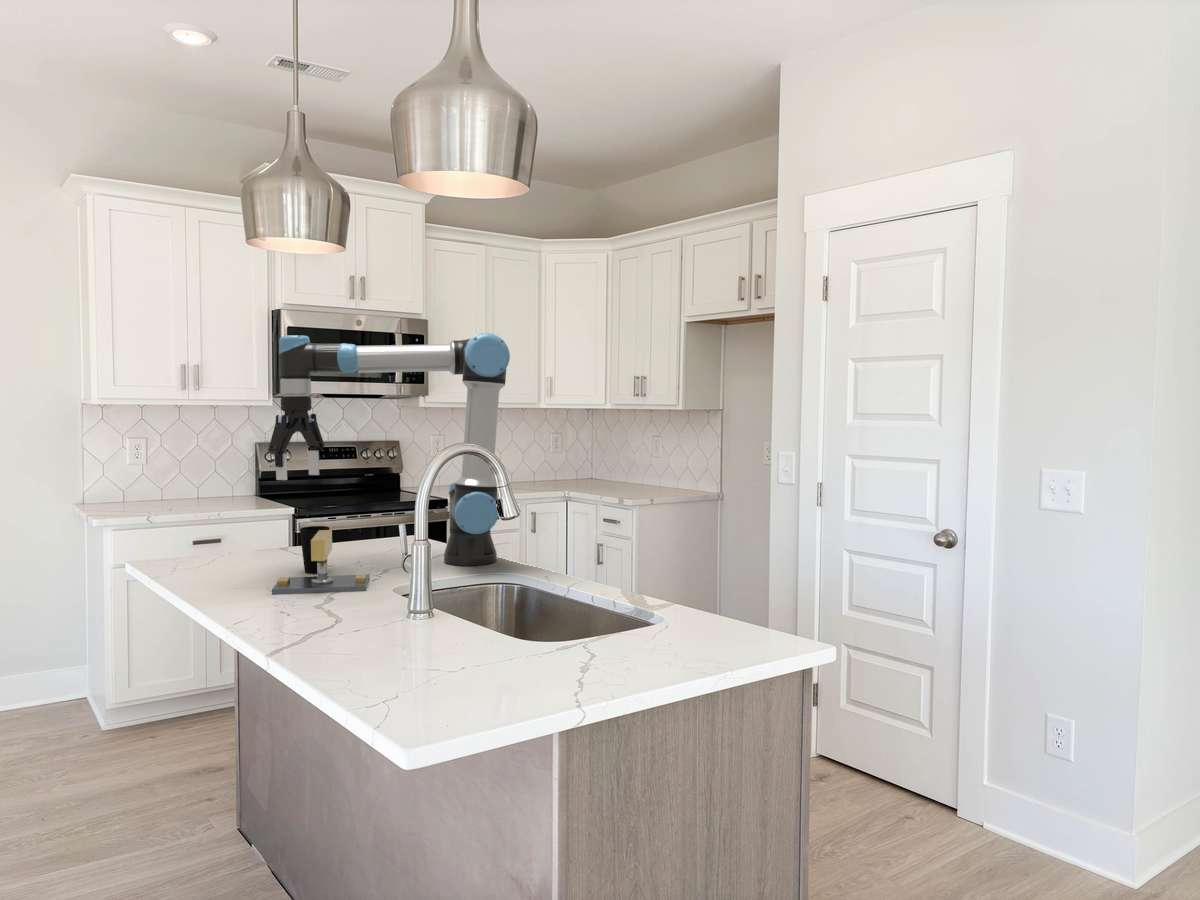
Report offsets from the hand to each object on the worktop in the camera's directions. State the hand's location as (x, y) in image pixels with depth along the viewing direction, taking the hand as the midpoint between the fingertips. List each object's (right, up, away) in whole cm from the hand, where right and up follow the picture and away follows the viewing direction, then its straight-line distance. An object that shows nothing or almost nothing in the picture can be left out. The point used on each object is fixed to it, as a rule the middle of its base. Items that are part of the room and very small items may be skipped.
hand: (298, 477), depth 229 cm
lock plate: (+9, -27, -8) cm, 30 cm away
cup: (+1, -26, +10) cm, 28 cm away
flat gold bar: (+9, -21, -9) cm, 24 cm away
